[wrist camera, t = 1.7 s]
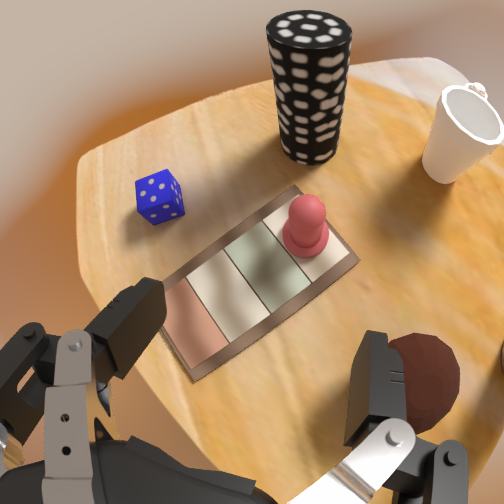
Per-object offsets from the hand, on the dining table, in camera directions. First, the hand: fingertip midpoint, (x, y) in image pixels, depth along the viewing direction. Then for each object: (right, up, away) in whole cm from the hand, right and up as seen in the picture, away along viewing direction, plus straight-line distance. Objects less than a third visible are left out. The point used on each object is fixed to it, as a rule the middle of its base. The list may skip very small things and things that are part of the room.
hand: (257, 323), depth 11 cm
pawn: (+6, +5, +25) cm, 27 cm away
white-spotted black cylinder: (+8, +19, +30) cm, 36 cm away
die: (-12, +9, +31) cm, 34 cm away
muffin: (+17, -13, +20) cm, 29 cm away
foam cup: (+28, +16, +26) cm, 42 cm away
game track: (-1, -1, +26) cm, 26 cm away
